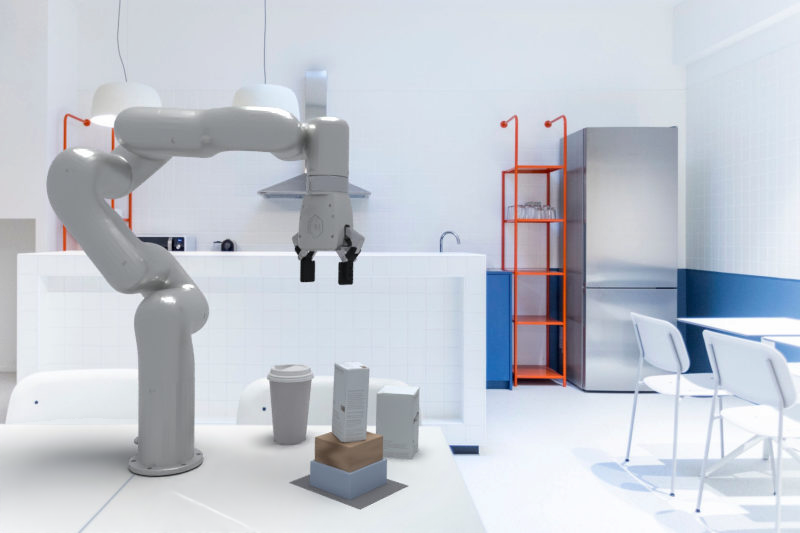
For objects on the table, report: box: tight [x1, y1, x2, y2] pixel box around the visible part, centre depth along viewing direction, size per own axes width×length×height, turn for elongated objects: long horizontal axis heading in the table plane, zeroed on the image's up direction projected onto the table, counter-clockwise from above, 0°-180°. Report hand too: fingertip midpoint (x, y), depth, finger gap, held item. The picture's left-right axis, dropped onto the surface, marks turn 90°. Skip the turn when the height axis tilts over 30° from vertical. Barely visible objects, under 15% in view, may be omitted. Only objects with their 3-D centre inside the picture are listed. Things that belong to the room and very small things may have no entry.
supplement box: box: [375, 384, 420, 460], centre depth 117 cm, size 7×7×13 cm
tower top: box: [314, 431, 384, 473], centre depth 101 cm, size 8×8×4 cm
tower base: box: [309, 457, 388, 500], centre depth 101 cm, size 9×9×4 cm
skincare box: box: [331, 360, 370, 442], centre depth 100 cm, size 6×4×12 cm
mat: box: [288, 474, 409, 510], centre depth 101 cm, size 16×12×1 cm
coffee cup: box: [266, 363, 315, 446], centre depth 124 cm, size 10×10×15 cm
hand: (326, 283), depth 109 cm, fingers open, 9 cm apart
